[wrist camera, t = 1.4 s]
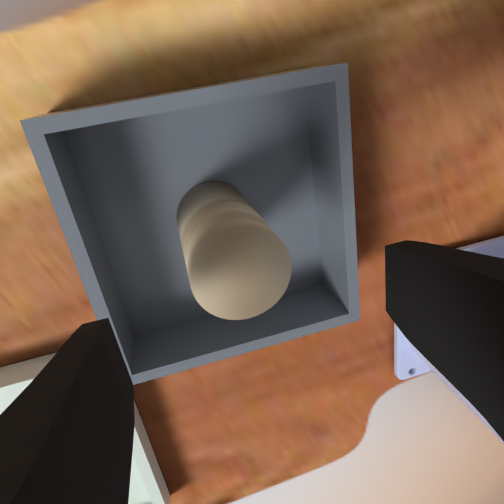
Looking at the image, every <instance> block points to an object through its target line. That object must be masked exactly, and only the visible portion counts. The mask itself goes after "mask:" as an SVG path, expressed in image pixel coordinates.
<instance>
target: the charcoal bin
mask: <svg viewBox="0 0 504 504" xmlns="http://www.w3.org/2000/svg"><path fill="white" fill-rule="evenodd" d="M20 122H21V124H22V127H23V130H24V132H25V135H26V137H27V140H28V143H29V145H30V148H31V150H32V153H33V156H34V158H35V161H36V163H37V166H38V169H39V171H40V174H41V176H42V179H43V181H44V184H45V187H46V189H47V192H48V194H49V197H50V200H51V202H52V205H53V207H54V210H55V213H56V215H57V218H58V220H59V223H60V226H61V228H62V231H63V233H64V236H65V238H66V241H67V244H68V246H69V249H70V251H71V254H72V257H73V259H74V262H75V264H76V267H77V270H78V272H79V275H80V277H81V280H82V283H83V285H84V288H85V290H86V293H87V295H88V298H89V301H90V303H91V306H92V308H93V311H94V314H95V316H96V319H97V320H101V319H105V318H109V321H110V323H111V326H112V329H113V332H114V334H115V337H116V340H117V342H118V345H119V348H120V350H121V353H122V356H123V358H124V361H125V364H126V367H127V369H128V372H129V375H130V377H131V380H132V383H133V385H135V384H139V383H142V382H146V381H149V380H153V379H156V378H160V377H163V376H167V375H170V374H174V373H177V372H181V371H184V370H188V369H191V368H195V367H198V366H201V365H205V364H208V363H212V362H215V361H219V360H222V359H226V358H229V357H233V356H236V355H240V354H243V353H247V352H250V351H254V350H257V349H261V348H264V347H268V346H271V345H275V344H278V343H282V342H285V341H289V340H292V339H295V338H299V337H302V336H306V335H309V334H313V333H316V332H320V331H323V330H327V329H330V328H334V327H337V326H341V325H344V324H348V323H351V322H355V321H358V320H360V305H359V284H358V263H357V242H356V221H355V200H354V179H353V158H352V137H351V116H350V95H349V74H348V63H340V64H332V65H323V66H314V67H307V68H302V69H296V70H290V71H284V72H279V73H273V74H267V75H262V76H256V77H250V78H245V79H239V80H233V81H227V82H222V83H216V84H210V85H205V86H199V87H193V88H188V89H182V90H176V91H170V92H165V93H159V94H153V95H148V96H142V97H136V98H131V99H125V100H119V101H113V102H108V103H102V104H96V105H91V106H85V107H79V108H74V109H68V110H62V111H57V112H51V113H46V114H42V115H38V116H35V117H31V118H27V119H24V120H20ZM208 181H220V182H224V183H227V184H229V185H231V186H233V187H234V188H236V189H237V190H238V191H239V192H240V193H241V194H242V195H243V197H244V198H245V199H246V200H247V201H248V202H249V204H250V205H251V206H252V207H253V208H254V209H255V210H256V212H257V213H258V214H259V215H260V216H261V217H262V219H263V220H264V221H265V222H266V223H267V224H268V225H269V227H270V228H271V229H272V230H273V231H274V232H275V234H276V235H277V236H278V237H279V238H280V239H281V240H282V242H283V243H284V244H285V246H286V248H287V250H288V252H289V255H290V258H291V264H292V271H291V278H290V282H289V284H288V287H287V289H286V291H285V293H284V294H283V296H282V297H281V298H280V299H279V301H278V302H277V303H276V304H275V305H274V306H272V307H271V308H270V309H268V310H267V311H265V312H264V313H262V314H260V315H257V316H255V317H252V318H248V319H243V320H228V319H223V318H219V317H217V316H214V315H212V314H210V313H209V312H207V311H206V310H205V309H203V308H202V307H201V306H200V305H199V303H198V302H197V301H196V299H195V297H194V295H193V293H192V290H191V286H190V282H189V277H188V272H187V268H186V263H185V258H184V254H183V249H182V244H181V240H180V235H179V230H178V226H177V220H176V215H177V208H178V205H179V203H180V201H181V199H182V197H183V196H184V195H185V194H186V193H187V192H188V191H189V190H190V189H191V188H192V187H194V186H196V185H198V184H200V183H203V182H208Z"/></svg>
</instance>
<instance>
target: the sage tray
mask: <svg viewBox="0 0 504 504" xmlns="http://www.w3.org/2000/svg"><path fill="white" fill-rule="evenodd" d="M56 353H57V352H56ZM56 353H52V354H48V355H45V356H41V357H37V358H33V359H30V360H26V361H22V362H18V363H15V364H11V365H7V366H3V367H0V415H1V413H2V412H3V411H4V410H5V409H6V408H7V407H8V406H9V405H10V404H11V403H12V402H13V401H14V400H15V399H16V398H17V397H18V396H19V394H20V393H21V392H22V391H23V390H24V389H25V388H26V387H27V386H28V385H29V384H30V383H31V382H32V381H33V379H34V378H35V377H36V376H37V375H38V374H39V373H40V371H41V370H42V369H43V368H44V367H45V366H46V365H47V363H48V362H49V361H50V360H51V359H52V358H53V357H54V355H55V354H56ZM134 416H135V425H134V439H133V452H132V464H131V476H130V488H129V499H128V504H171V498H170V494H169V491H168V488H167V486H166V483H165V480H164V478H163V475H162V472H161V470H160V467H159V465H158V462H157V459H156V457H155V454H154V451H153V449H152V446H151V443H150V441H149V438H148V435H147V433H146V430H145V427H144V425H143V422H142V419H141V417H140V414H139V411H138V409H137V406H136V404H135V401H134Z"/></svg>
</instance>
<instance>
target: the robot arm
mask: <svg viewBox="0 0 504 504" xmlns="http://www.w3.org/2000/svg"><path fill="white" fill-rule="evenodd" d="M385 276H386V311H387V313H388V314H389V316H390V317H391V318H392V320H393V321H394V373H395V375H396V376H397V377H398V378H399V379H400V380H404V379H408V378H411V377H414V376H417V375H420V374H423V373H427V372H430V371H432V372H433V373H434V374H435V375H436V376H437V377H438V378H439V379H440V380H441V381H442V382H443V383H444V384H446V386H447V387H448V388H449V389H450V390H452V392H453V393H454V394H455V395H456V396H457V397H458V398H459V399H460V400H461V401H462V402H463V403H464V404H465V405H466V406H467V407H468V408H469V409H470V410H471V411H472V412H473V413H474V414H475V415H476V416H477V417H478V418H479V419H480V420H481V421H482V422H483V423H484V424H485V425H486V426H487V427H488V428H489V429H490V430H491V431H492V432H493V433H494V434H495V435H497V437H498V438H499V439H500V440H501V441H502V442H503V443H504V236H500V237H497V238H493V239H489V240H485V241H482V242H478V243H474V244H470V245H467V246H463V247H459V248H456V249H455V248H450V247H446V246H441V245H436V244H430V243H424V242H418V241H407V240H406V241H402V242H398V243H394V244H390V245H386V246H385ZM134 425H135V416H134V395H133V383H132V380H131V377H130V375H129V372H128V369H127V367H126V364H125V361H124V358H123V356H122V353H121V350H120V348H119V345H118V342H117V340H116V337H115V334H114V332H113V329H112V326H111V323H110V321H109V318H105V319H101V320H97V321H93V322H90V323H86V324H82V325H81V326H80V327H79V328H78V329H77V330H76V331H75V332H74V333H73V334H72V336H71V337H70V338H69V339H68V340H67V341H66V342H65V344H64V345H63V346H62V347H61V348H60V349H59V351H58V352H57V353H56V354H55V355H54V357H53V358H52V359H51V360H50V361H49V362H48V363H47V365H46V366H45V367H44V368H43V369H42V370H41V371H40V373H39V374H38V375H37V376H36V377H35V378H34V379H33V381H32V382H31V383H30V384H29V385H28V386H27V387H26V388H25V389H24V390H23V391H22V392H21V393H20V394H19V396H18V397H17V398H16V399H15V400H14V401H13V402H12V403H11V404H10V405H9V406H8V407H7V408H6V409H5V410H4V411H3V412H2V413H1V415H0V504H128V499H129V488H130V476H131V464H132V452H133V439H134Z"/></svg>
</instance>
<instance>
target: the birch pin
mask: <svg viewBox="0 0 504 504" xmlns="http://www.w3.org/2000/svg"><path fill="white" fill-rule="evenodd" d="M176 220H177V226H178V230H179V235H180V240H181V244H182V249H183V254H184V258H185V263H186V268H187V272H188V277H189V282H190V286H191V290H192V293H193V295H194V297H195V299H196V301H197V302H198V303H199V305H200V306H201V307H202V308H203V309H205V310H206V311H207V312H209V313H210V314H212V315H214V316H217V317H219V318H223V319H228V320H243V319H248V318H252V317H255V316H257V315H260V314H262V313H264V312H265V311H267V310H268V309H270V308H271V307H272V306H274V305H275V304H276V303H277V302H278V301H279V299H280V298H281V297H282V296H283V294H284V293H285V291H286V289H287V287H288V284H289V282H290V278H291V271H292V264H291V258H290V255H289V252H288V250H287V248H286V246H285V244H284V243H283V242H282V240H281V239H280V238H279V237H278V236H277V235H276V234H275V232H274V231H273V230H272V229H271V228H270V227H269V225H268V224H267V223H266V222H265V221H264V220H263V219H262V217H261V216H260V215H259V214H258V213H257V212H256V210H255V209H254V208H253V207H252V206H251V205H250V204H249V202H248V201H247V200H246V199H245V198H244V197H243V195H242V194H241V193H240V192H239V191H238V190H237V189H236V188H234V187H233V186H231V185H229V184H227V183H224V182H220V181H208V182H203V183H200V184H198V185H196V186H194V187H192V188H191V189H190V190H189V191H188V192H187V193H186V194H185V195H184V196H183V197H182V199H181V201H180V203H179V205H178V208H177V215H176Z"/></svg>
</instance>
